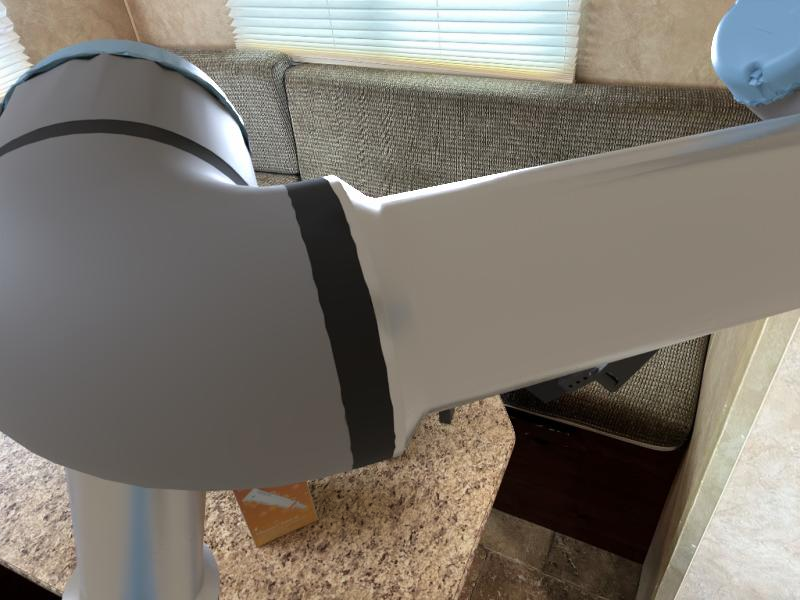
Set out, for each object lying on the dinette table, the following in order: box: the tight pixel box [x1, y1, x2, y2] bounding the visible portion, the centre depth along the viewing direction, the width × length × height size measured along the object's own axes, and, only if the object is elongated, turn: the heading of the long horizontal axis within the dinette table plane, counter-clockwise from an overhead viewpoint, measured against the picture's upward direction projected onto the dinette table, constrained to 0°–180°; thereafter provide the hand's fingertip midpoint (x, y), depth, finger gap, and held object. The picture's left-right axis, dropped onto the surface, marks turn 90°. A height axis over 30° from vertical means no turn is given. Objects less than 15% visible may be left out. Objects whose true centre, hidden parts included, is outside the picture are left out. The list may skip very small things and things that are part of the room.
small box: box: [231, 481, 319, 548], centre depth 72 cm, size 8×6×13 cm
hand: (539, 342), depth 61 cm, fingers open, 13 cm apart
